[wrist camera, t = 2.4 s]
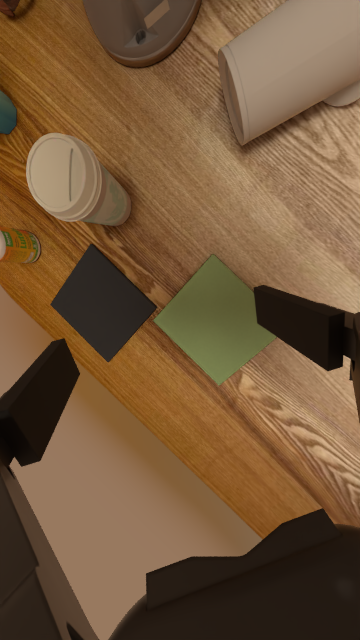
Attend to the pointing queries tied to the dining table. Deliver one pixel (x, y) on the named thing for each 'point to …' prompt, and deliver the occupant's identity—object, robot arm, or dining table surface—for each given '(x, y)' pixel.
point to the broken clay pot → (8, 6)
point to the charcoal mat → (102, 303)
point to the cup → (7, 114)
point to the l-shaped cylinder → (291, 64)
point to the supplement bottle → (18, 246)
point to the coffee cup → (74, 182)
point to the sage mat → (215, 321)
